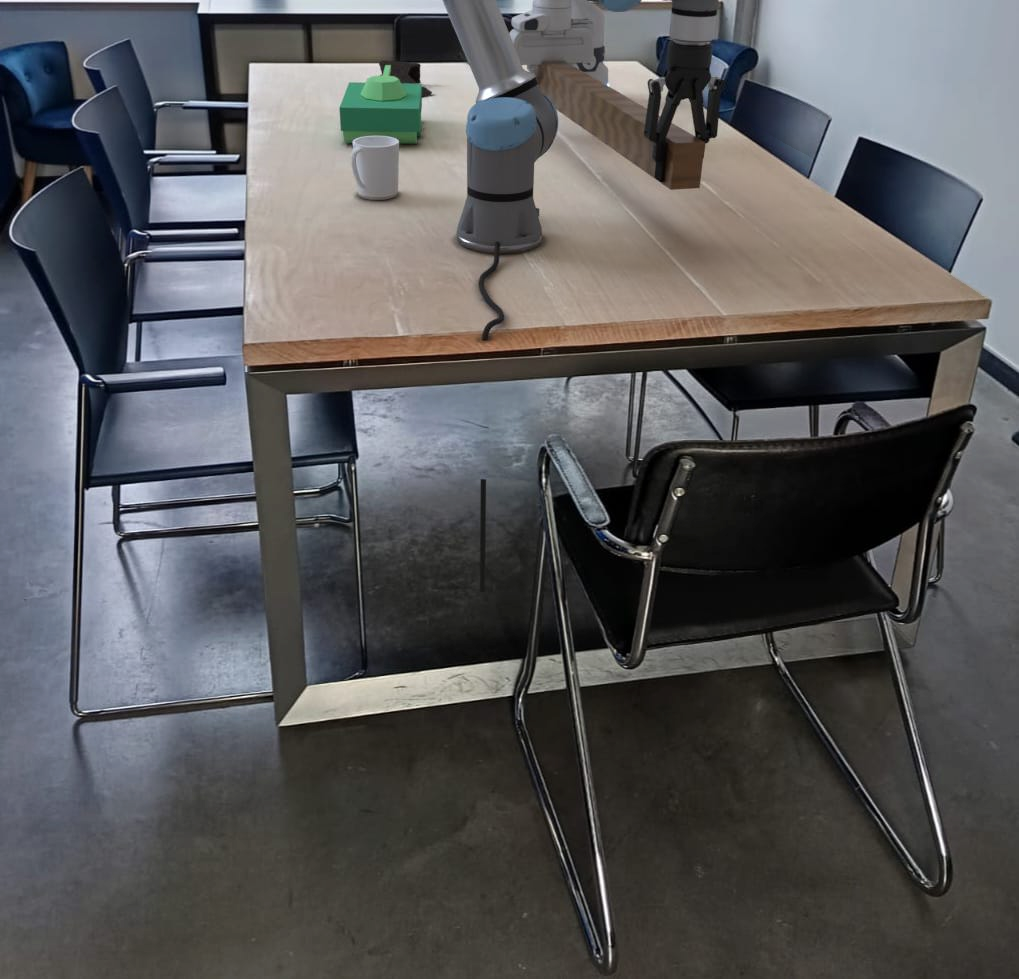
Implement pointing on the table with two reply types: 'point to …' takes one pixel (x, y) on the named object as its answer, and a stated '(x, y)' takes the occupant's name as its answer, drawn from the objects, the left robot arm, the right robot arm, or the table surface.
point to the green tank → (382, 109)
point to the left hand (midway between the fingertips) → (675, 178)
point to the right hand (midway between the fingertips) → (549, 83)
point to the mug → (376, 166)
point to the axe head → (405, 72)
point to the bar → (620, 123)
